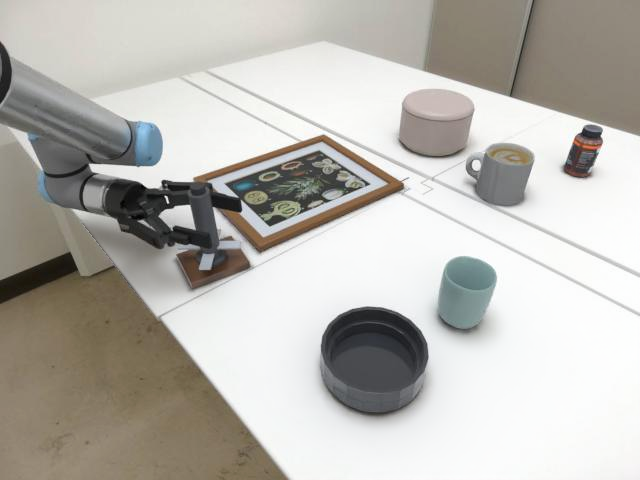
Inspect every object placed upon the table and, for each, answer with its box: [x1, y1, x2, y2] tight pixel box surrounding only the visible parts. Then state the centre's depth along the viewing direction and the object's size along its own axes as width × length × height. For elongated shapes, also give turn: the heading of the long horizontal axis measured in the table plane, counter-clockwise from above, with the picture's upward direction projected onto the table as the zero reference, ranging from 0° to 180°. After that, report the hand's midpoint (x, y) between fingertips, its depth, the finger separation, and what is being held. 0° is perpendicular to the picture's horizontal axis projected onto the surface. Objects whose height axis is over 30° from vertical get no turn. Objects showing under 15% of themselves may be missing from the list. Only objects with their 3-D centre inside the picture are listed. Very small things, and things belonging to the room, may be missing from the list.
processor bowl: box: [320, 305, 430, 414], centre depth 65 cm, size 15×15×6 cm
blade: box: [177, 181, 242, 270], centre depth 79 cm, size 11×11×16 cm
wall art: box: [192, 133, 405, 253], centre depth 105 cm, size 31×2×38 cm
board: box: [175, 235, 251, 290], centre depth 85 cm, size 11×9×2 cm
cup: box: [437, 255, 498, 330], centre depth 71 cm, size 8×8×10 cm
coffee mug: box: [465, 142, 536, 206], centre depth 101 cm, size 13×10×10 cm
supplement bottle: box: [563, 123, 604, 178], centre depth 106 cm, size 6×6×11 cm
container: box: [398, 88, 476, 157], centre depth 118 cm, size 18×18×12 cm
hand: (226, 222), depth 77 cm, fingers open, 10 cm apart
